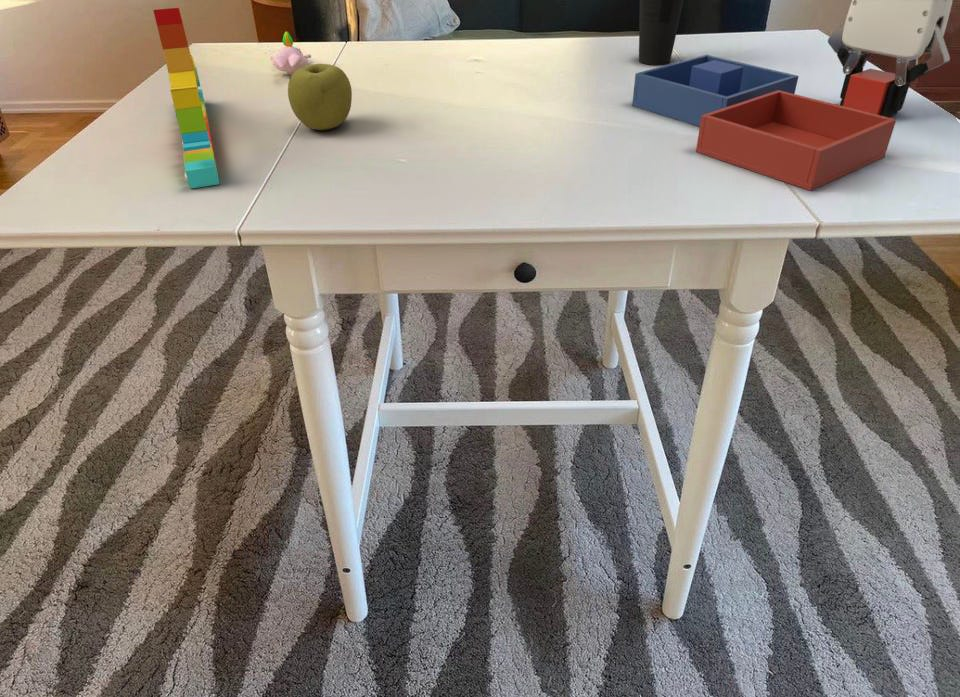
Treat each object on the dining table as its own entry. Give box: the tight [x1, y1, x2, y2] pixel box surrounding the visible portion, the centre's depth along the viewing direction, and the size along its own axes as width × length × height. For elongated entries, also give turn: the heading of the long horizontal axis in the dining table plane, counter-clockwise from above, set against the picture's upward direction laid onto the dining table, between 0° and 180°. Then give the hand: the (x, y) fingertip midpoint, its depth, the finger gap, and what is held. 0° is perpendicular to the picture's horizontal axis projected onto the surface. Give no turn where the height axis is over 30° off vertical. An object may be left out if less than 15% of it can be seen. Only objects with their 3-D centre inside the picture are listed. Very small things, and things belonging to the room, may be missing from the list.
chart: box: [152, 7, 220, 190], centre depth 83 cm, size 30×3×15 cm, turn 20°
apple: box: [287, 63, 353, 131], centre depth 88 cm, size 8×8×7 cm
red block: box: [843, 68, 895, 115], centre depth 90 cm, size 4×4×4 cm
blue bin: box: [631, 54, 800, 128], centre depth 93 cm, size 14×14×4 cm
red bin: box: [695, 90, 897, 192], centre depth 79 cm, size 14×14×4 cm
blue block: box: [689, 60, 744, 97], centre depth 92 cm, size 4×4×4 cm
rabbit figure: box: [269, 30, 312, 76], centre depth 109 cm, size 6×6×15 cm
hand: (868, 109), depth 91 cm, fingers closed on red block, 4 cm apart
